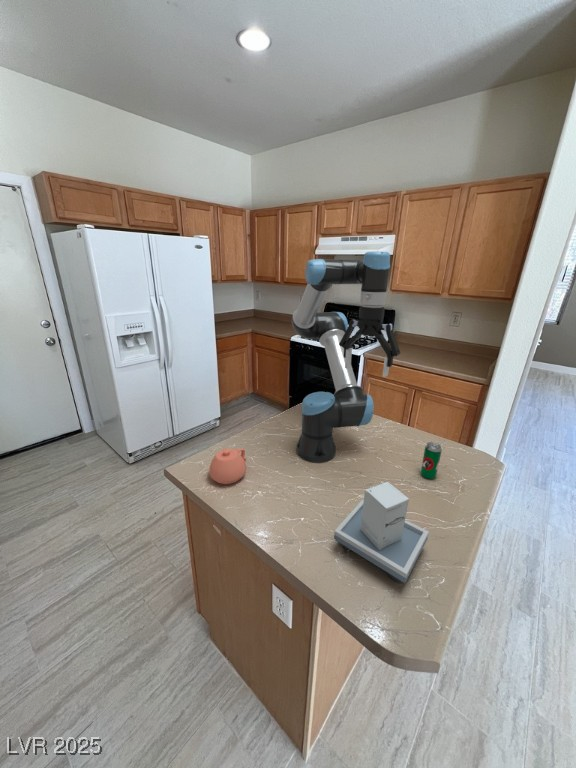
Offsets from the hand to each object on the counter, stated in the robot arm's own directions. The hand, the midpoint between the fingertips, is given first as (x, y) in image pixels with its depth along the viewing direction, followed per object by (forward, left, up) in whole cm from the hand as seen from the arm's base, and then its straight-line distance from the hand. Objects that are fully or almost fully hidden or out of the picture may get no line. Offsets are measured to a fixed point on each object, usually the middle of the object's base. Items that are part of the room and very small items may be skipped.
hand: (365, 371), depth 103 cm
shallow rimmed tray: (+23, -31, -35) cm, 52 cm away
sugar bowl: (-29, -36, -35) cm, 58 cm away
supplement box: (+23, -31, -30) cm, 49 cm away
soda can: (+23, +8, -35) cm, 43 cm away
